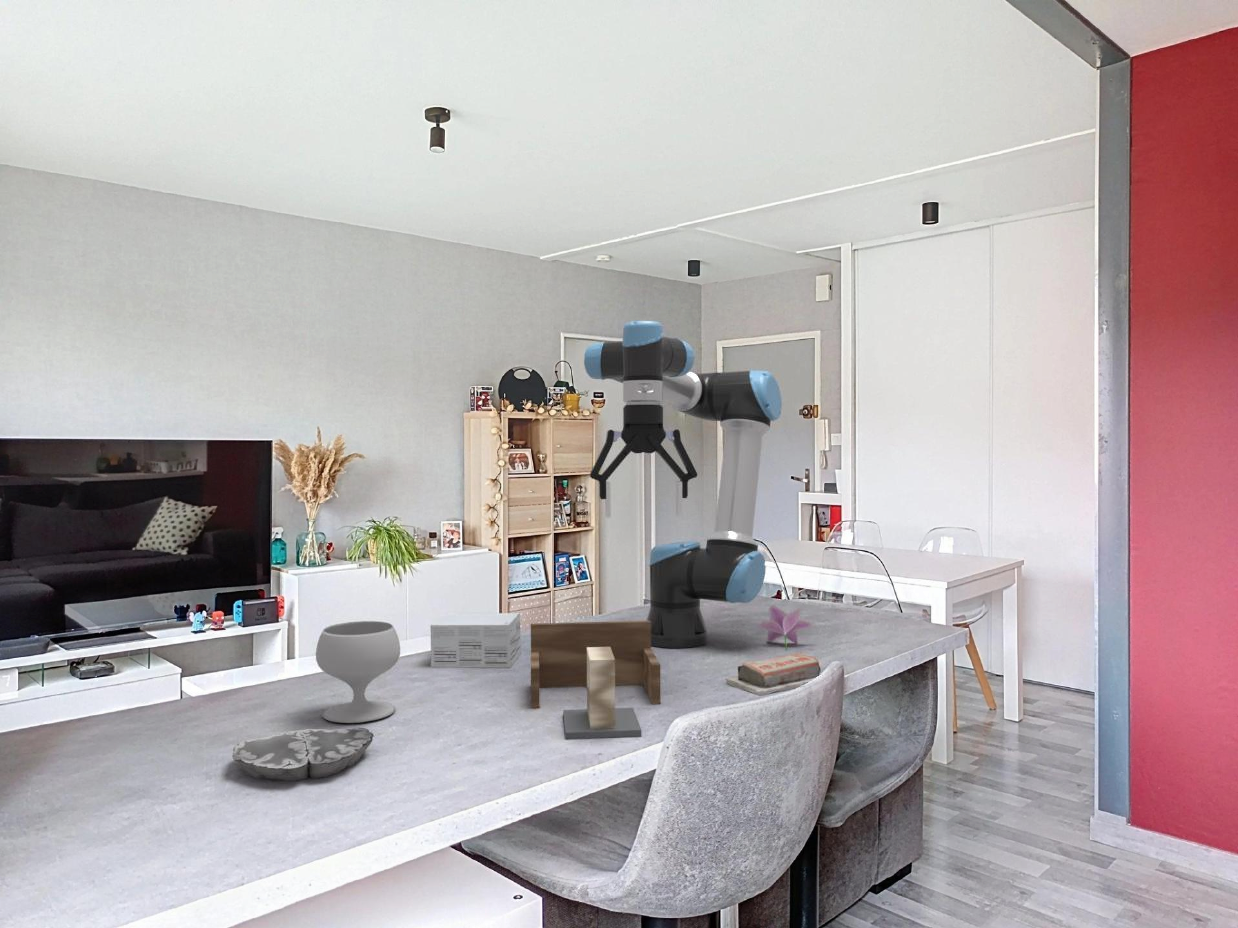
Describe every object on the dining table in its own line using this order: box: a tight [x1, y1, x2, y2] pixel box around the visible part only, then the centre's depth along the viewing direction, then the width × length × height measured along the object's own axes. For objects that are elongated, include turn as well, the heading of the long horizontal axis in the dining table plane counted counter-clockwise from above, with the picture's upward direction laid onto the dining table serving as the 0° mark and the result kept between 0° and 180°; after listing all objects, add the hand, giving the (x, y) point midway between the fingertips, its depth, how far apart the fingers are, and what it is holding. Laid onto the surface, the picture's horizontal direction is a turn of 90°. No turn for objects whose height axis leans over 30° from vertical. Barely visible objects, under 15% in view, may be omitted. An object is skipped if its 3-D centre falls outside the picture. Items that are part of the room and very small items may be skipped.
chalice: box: [315, 620, 401, 724], centre depth 153 cm, size 14×14×15 cm
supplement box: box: [430, 612, 522, 669], centre depth 191 cm, size 17×13×9 cm
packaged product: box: [725, 653, 822, 696], centre depth 172 cm, size 18×5×10 cm
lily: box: [756, 604, 816, 651], centre depth 202 cm, size 12×12×10 cm
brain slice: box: [232, 727, 374, 782], centre depth 129 cm, size 20×17×3 cm
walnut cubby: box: [530, 620, 662, 709], centre depth 165 cm, size 14×23×12 cm, turn 95°
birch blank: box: [586, 647, 616, 729], centre depth 146 cm, size 4×9×11 cm, turn 5°
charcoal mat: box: [562, 707, 642, 740], centre depth 147 cm, size 12×12×1 cm
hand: (643, 516), depth 169 cm, fingers open, 13 cm apart
